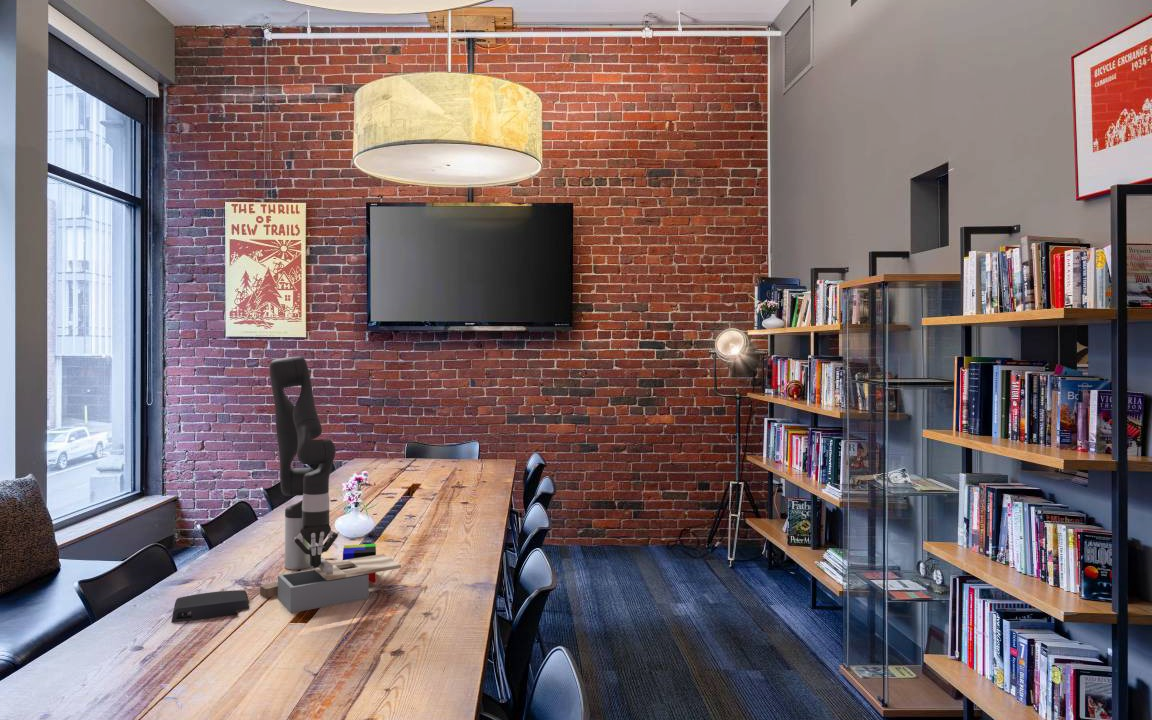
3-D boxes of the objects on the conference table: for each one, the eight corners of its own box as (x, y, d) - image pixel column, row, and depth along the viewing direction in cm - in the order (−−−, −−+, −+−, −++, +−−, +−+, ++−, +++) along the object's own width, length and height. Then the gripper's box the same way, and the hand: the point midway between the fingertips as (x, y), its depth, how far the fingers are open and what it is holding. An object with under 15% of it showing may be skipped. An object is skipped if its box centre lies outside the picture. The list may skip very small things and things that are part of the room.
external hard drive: (173, 609, 211) (174, 595, 211) (248, 600, 220) (248, 586, 220) (171, 625, 200) (171, 610, 199) (249, 615, 208) (250, 600, 208)
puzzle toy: (342, 585, 233) (342, 553, 233) (343, 576, 243) (343, 545, 242) (375, 583, 236) (375, 551, 235) (375, 573, 245) (375, 543, 245)
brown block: (260, 585, 220) (308, 575, 231) (259, 599, 220) (308, 587, 231) (265, 588, 217) (314, 577, 228) (265, 602, 217) (314, 590, 228)
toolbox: (277, 602, 217) (277, 574, 217) (352, 588, 230) (352, 562, 230) (290, 616, 206) (290, 587, 205) (368, 601, 218) (368, 574, 218)
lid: (312, 568, 223) (312, 556, 222) (383, 557, 235) (383, 546, 235) (327, 580, 211) (327, 568, 211) (400, 568, 224) (400, 556, 224)
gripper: (295, 513, 210) (295, 574, 210) (342, 507, 218) (342, 566, 218) (288, 508, 216) (288, 567, 217) (334, 503, 224) (334, 560, 224)
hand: (315, 567), depth 217 cm, fingers closed
